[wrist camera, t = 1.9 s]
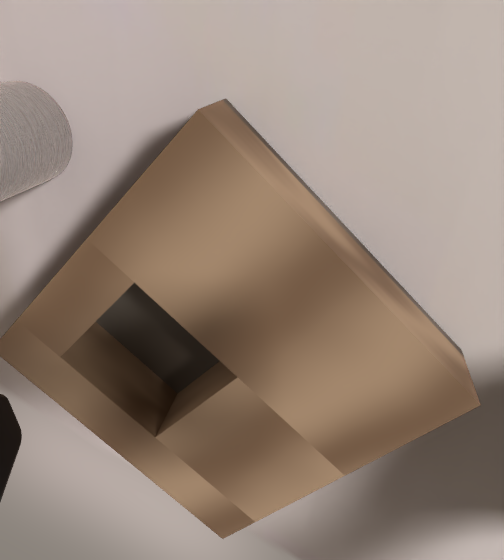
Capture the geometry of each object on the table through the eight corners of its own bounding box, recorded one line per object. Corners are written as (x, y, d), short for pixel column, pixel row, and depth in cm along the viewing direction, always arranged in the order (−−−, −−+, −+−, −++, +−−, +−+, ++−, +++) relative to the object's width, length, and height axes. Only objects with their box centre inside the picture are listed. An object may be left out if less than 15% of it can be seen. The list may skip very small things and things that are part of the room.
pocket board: (461, 349, 20) (480, 405, 17) (238, 480, 26) (222, 538, 23) (225, 98, 17) (198, 109, 14) (39, 309, 23) (-9, 349, 20)
